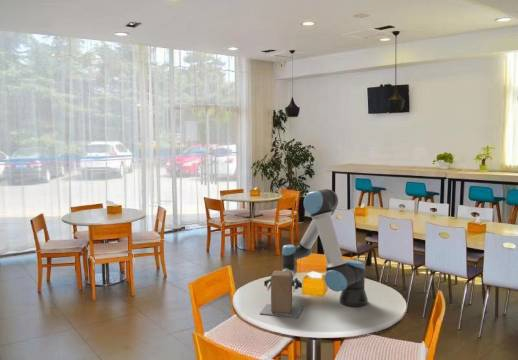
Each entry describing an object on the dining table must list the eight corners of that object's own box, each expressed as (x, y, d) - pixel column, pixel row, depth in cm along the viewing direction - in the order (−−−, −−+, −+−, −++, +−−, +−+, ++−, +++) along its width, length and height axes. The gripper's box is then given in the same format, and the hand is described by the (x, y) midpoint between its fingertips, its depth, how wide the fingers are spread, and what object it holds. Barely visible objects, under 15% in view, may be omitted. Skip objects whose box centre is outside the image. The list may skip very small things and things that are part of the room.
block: (289, 314, 241) (289, 276, 239) (270, 313, 243) (270, 275, 241) (292, 307, 251) (292, 270, 249) (273, 306, 253) (273, 269, 251)
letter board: (303, 308, 251) (303, 307, 251) (297, 318, 238) (297, 317, 237) (266, 305, 256) (266, 303, 256) (259, 314, 243) (259, 313, 243)
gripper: (308, 284, 261) (304, 297, 241) (264, 282, 266) (257, 294, 245) (308, 271, 261) (305, 283, 240) (264, 269, 265) (257, 280, 245)
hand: (280, 289), depth 243 cm, fingers open, 13 cm apart
